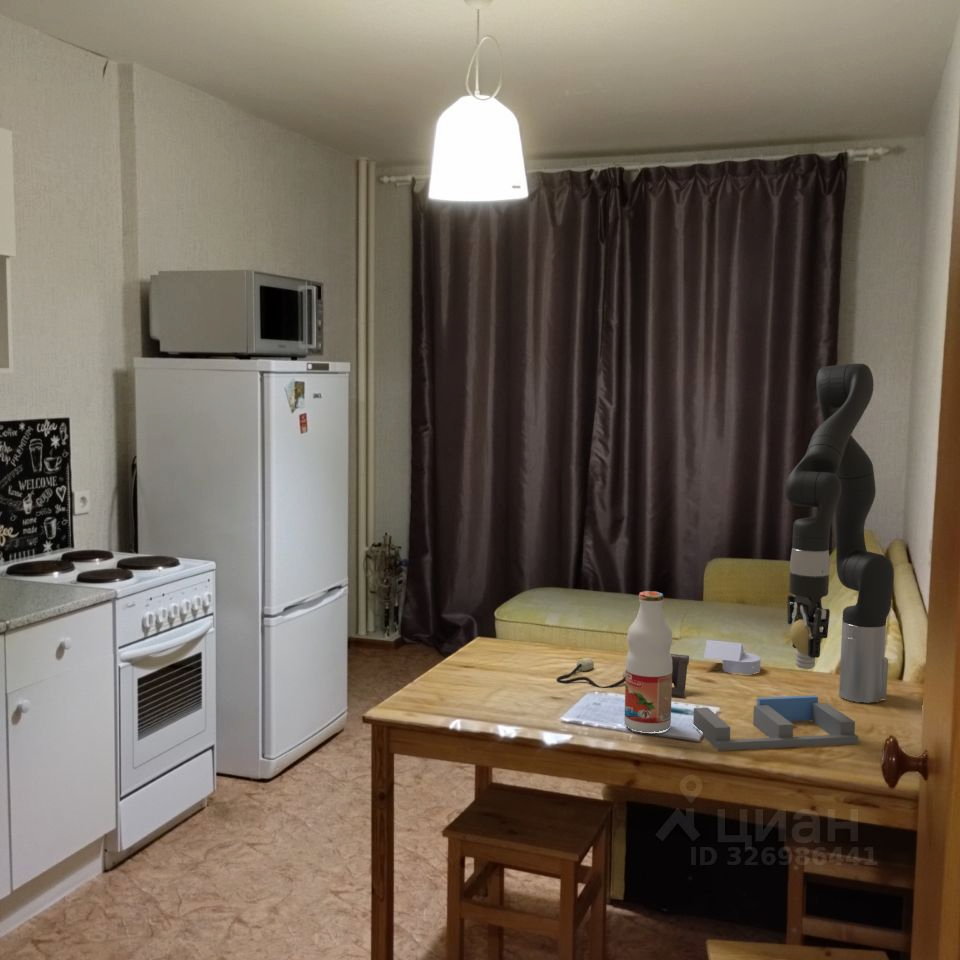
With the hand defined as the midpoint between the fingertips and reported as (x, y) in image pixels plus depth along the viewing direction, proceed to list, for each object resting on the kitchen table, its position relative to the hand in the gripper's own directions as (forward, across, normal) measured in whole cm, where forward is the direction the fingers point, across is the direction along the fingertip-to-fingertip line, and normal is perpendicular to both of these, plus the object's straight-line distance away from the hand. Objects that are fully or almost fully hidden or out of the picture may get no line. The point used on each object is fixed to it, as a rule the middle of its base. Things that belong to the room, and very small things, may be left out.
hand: (805, 652), depth 212 cm
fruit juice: (+17, +7, +30) cm, 36 cm away
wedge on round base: (+17, +45, -3) cm, 48 cm away
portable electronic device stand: (+17, +30, +19) cm, 39 cm away
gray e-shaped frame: (+17, 0, +6) cm, 18 cm away
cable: (+17, +41, +32) cm, 54 cm away
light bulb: (+3, 0, 0) cm, 3 cm away
